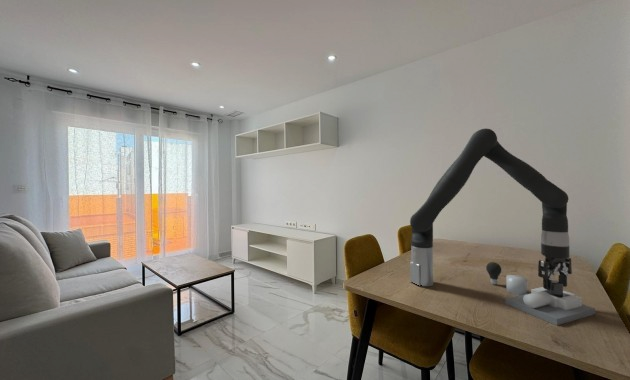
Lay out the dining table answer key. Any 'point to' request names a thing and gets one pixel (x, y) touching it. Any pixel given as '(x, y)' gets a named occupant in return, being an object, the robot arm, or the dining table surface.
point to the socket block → (551, 306)
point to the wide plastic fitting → (516, 284)
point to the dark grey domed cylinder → (556, 289)
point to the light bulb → (493, 271)
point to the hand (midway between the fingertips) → (555, 287)
